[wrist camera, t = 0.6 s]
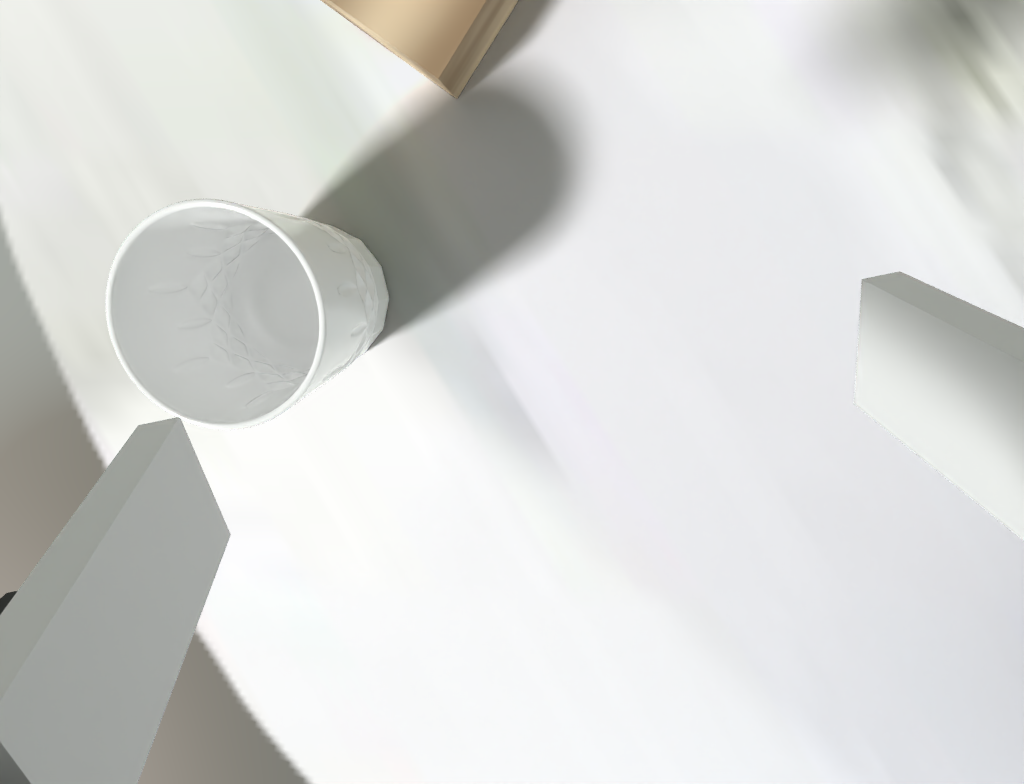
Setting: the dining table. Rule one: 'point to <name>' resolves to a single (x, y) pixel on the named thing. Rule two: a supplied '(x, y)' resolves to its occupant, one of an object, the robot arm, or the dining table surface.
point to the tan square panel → (432, 33)
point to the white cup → (239, 309)
